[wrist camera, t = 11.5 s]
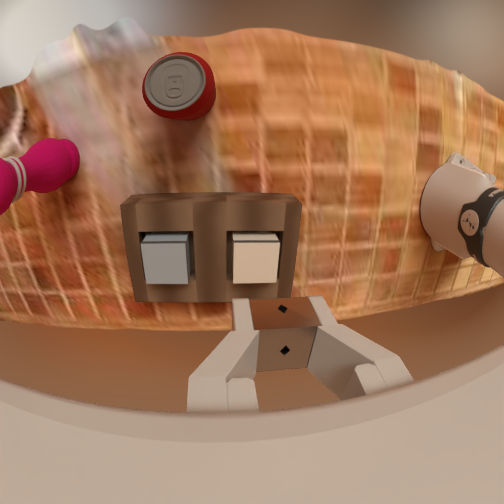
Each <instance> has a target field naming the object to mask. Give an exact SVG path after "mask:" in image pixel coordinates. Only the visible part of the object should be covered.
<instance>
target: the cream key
mask: <svg viewBox="0 0 504 504" xmlns="http://www.w3.org/2000/svg"><path fill="white" fill-rule="evenodd" d="M279 249H280V241H279V240H278V238H277V236H276V234H275V232H274V231H232V263H231V265H232V276H233V279H232V281H233V283H276V279H277V269H278V259H279Z"/></svg>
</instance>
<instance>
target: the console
mask: <svg viewBox="0 0 504 504" xmlns="http://www.w3.org/2000/svg"><path fill="white" fill-rule="evenodd" d="M120 207H121V216H122V225H123V232H124V240H125V247H126V253H127V259H128V265H129V271H130V276H131V282H132V287H133V292H134V296H135V301H136V302H232V298H291V291H292V284H293V277H294V269H295V262H296V254H297V246H298V237H299V228H300V219H301V210H302V203H301V202H300V201H299V200H298V199H297V198H296V197H295V196H294V195H293V194H280V193H162V194H138V195H131V196H130V197H129V198H128V199H127V200H126V201H124V202H123V203H122V204H121V205H120ZM150 231H190V249H191V270H190V276H189V283H188V284H146V278H145V272H144V265H143V258H142V251H141V242H142V241H143V240H144V238H145V236H146V235H147V233H148V232H150ZM232 231H274V232H275V234H276V236H277V238H278V240H279V241H280V249H279V259H278V269H277V279H276V283H233V281H232V279H233V276H232V265H231V263H232Z"/></svg>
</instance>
